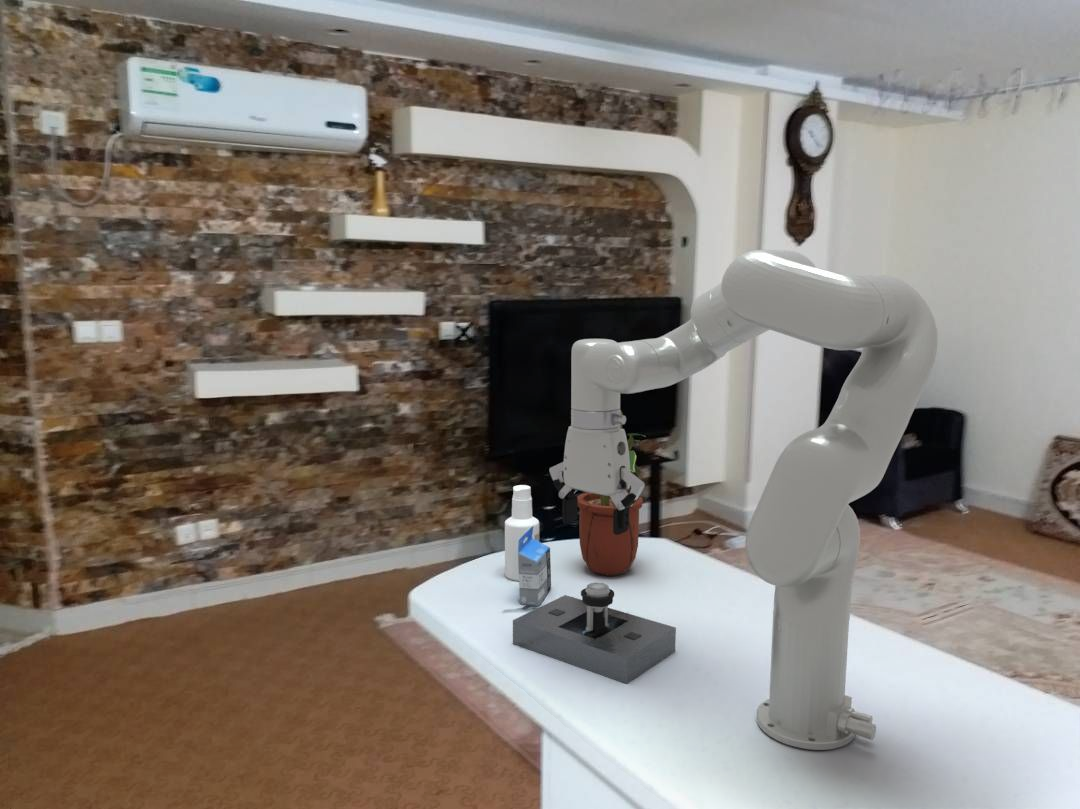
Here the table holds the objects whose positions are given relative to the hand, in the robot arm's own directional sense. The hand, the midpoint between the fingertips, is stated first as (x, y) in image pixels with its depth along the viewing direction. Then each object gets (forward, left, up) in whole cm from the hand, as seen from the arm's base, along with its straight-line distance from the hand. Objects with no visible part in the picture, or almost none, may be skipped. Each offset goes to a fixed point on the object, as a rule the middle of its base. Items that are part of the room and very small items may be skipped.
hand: (594, 526), depth 137 cm
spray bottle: (+30, -18, -20) cm, 41 cm away
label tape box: (+21, -11, -20) cm, 31 cm away
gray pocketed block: (0, 0, -20) cm, 20 cm away
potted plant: (+16, -32, -20) cm, 41 cm away
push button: (0, 0, -20) cm, 20 cm away
